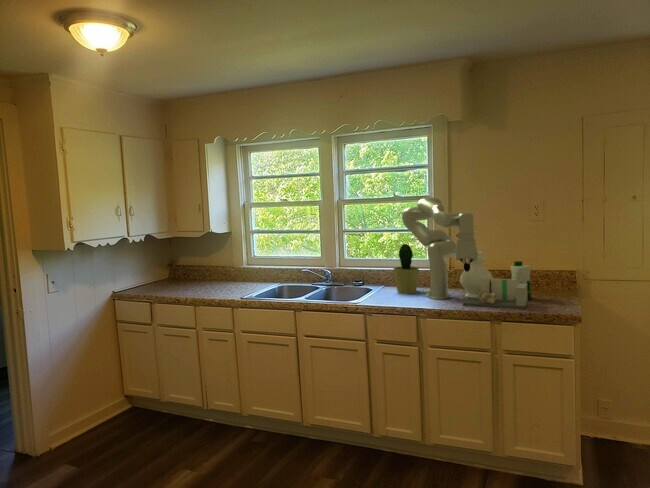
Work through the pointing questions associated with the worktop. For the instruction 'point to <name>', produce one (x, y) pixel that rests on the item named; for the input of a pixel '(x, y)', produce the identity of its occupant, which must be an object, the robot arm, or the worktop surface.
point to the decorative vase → (474, 276)
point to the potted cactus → (406, 271)
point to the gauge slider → (487, 297)
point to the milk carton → (522, 275)
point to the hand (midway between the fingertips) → (467, 271)
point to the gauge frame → (502, 294)
